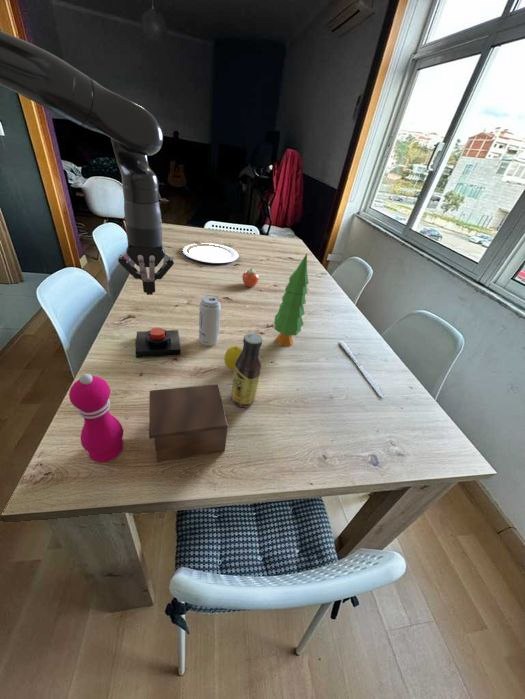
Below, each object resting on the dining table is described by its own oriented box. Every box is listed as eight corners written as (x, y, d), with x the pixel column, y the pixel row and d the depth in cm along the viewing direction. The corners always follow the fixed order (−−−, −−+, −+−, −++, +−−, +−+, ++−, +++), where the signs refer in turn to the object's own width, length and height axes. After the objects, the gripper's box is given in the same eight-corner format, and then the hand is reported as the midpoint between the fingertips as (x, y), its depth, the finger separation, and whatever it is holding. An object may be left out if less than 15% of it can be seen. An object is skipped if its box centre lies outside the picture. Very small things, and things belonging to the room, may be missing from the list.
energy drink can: (197, 336, 94) (198, 294, 85) (216, 335, 96) (218, 294, 87) (200, 348, 89) (201, 304, 80) (220, 346, 91) (223, 304, 83)
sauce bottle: (228, 392, 76) (234, 328, 64) (251, 389, 78) (261, 327, 66) (233, 411, 71) (242, 346, 60) (258, 408, 73) (270, 344, 62)
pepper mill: (87, 437, 60) (61, 363, 48) (125, 430, 63) (110, 358, 51) (84, 469, 55) (54, 394, 43) (126, 459, 58) (109, 387, 46)
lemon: (236, 361, 87) (239, 339, 82) (246, 372, 83) (249, 350, 79) (220, 366, 84) (221, 343, 79) (229, 378, 81) (231, 355, 76)
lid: (149, 439, 53) (149, 436, 53) (149, 393, 62) (149, 390, 61) (227, 427, 58) (227, 425, 57) (217, 386, 66) (217, 384, 66)
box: (157, 462, 58) (154, 438, 53) (156, 417, 67) (153, 393, 62) (224, 451, 62) (227, 428, 58) (216, 410, 71) (217, 386, 66)
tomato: (260, 285, 132) (263, 268, 127) (252, 290, 127) (255, 273, 122) (246, 280, 134) (248, 263, 130) (238, 285, 129) (239, 268, 124)
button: (150, 340, 83) (149, 335, 82) (150, 332, 86) (149, 327, 85) (165, 339, 84) (164, 334, 83) (164, 332, 87) (164, 327, 86)
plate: (246, 254, 163) (246, 250, 162) (225, 270, 140) (225, 267, 139) (198, 242, 168) (198, 239, 167) (170, 256, 144) (170, 252, 143)
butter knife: (345, 340, 104) (338, 340, 103) (387, 396, 83) (378, 396, 82) (345, 341, 104) (337, 341, 103) (386, 397, 84) (377, 397, 83)
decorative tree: (300, 338, 102) (323, 253, 84) (294, 353, 94) (318, 263, 77) (273, 330, 103) (290, 245, 86) (266, 344, 96) (283, 254, 78)
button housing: (136, 358, 82) (134, 346, 79) (137, 337, 89) (136, 326, 87) (180, 355, 85) (180, 344, 83) (178, 335, 93) (178, 325, 90)
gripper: (173, 220, 70) (175, 287, 80) (112, 215, 66) (122, 286, 76) (175, 229, 64) (177, 300, 74) (108, 224, 60) (120, 300, 70)
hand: (149, 293), depth 75 cm, fingers closed
